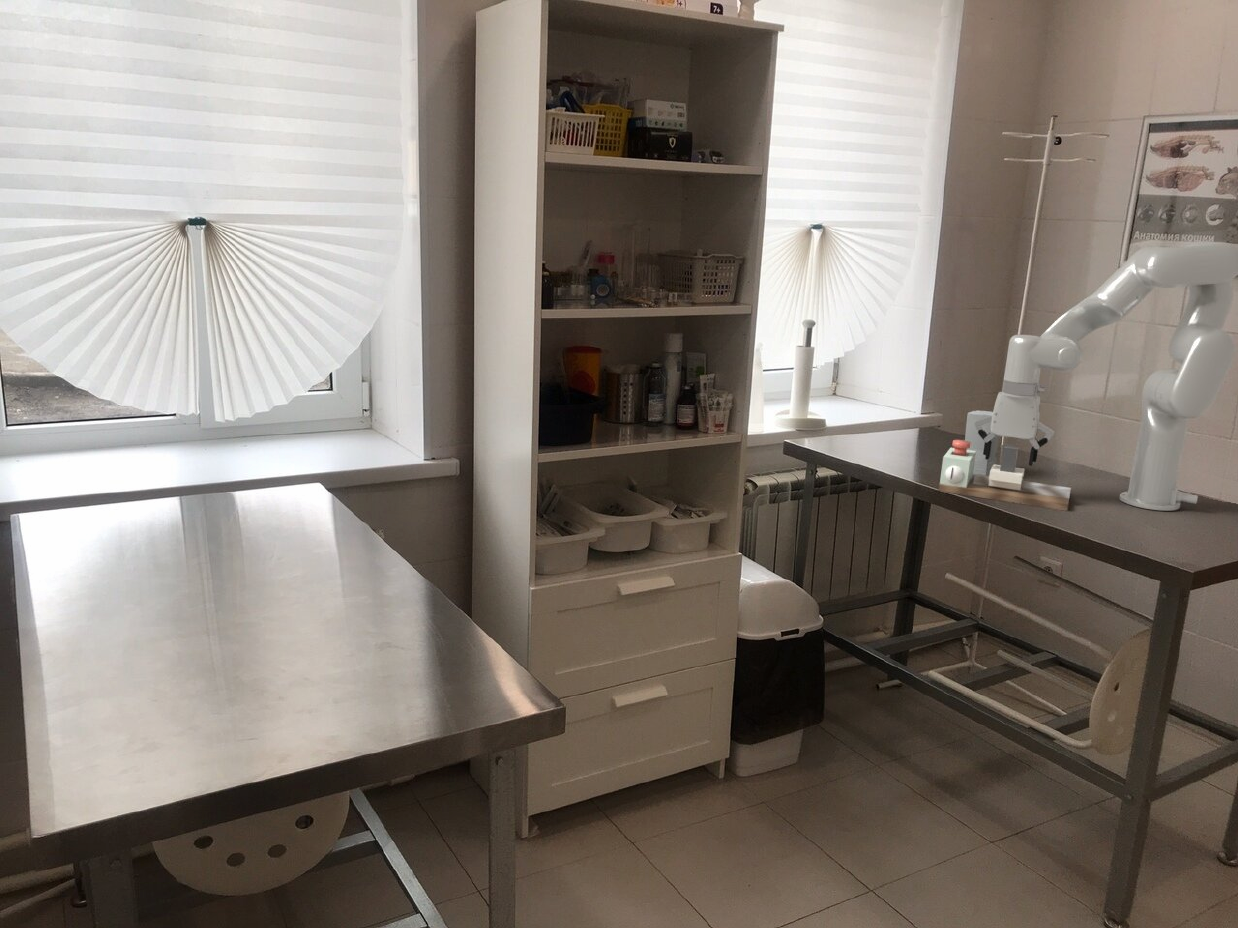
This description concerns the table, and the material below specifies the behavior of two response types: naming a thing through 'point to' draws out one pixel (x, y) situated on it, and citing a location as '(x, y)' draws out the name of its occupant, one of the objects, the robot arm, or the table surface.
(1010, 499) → the walnut rail board
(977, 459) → the skincare box
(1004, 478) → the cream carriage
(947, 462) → the sage gauge cabinet
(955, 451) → the red reset button
